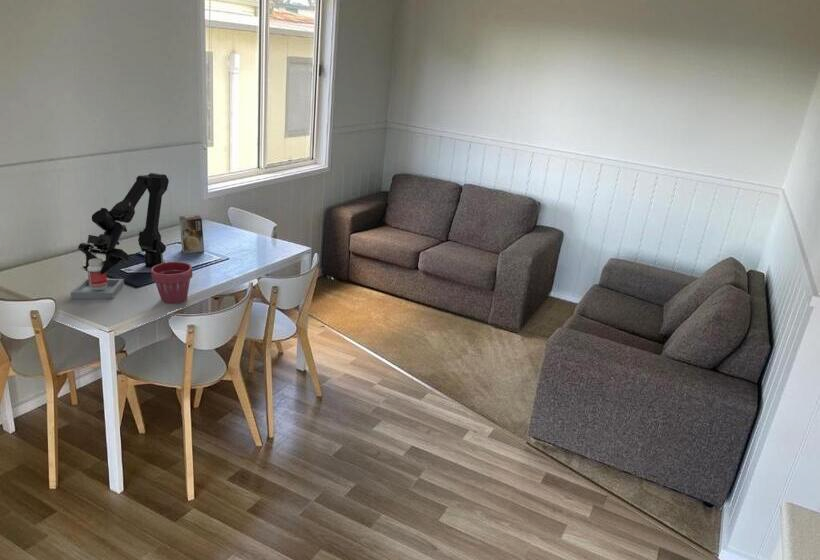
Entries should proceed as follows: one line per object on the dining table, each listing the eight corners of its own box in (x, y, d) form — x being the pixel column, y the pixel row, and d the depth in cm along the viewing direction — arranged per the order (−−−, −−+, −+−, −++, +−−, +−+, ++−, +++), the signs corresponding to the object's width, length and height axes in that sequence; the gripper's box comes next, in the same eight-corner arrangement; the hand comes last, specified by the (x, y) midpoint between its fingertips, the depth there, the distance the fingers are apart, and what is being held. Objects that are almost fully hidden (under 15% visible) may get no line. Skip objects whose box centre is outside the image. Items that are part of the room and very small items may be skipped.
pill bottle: (111, 287, 237) (108, 260, 233) (96, 291, 232) (92, 264, 228) (100, 283, 240) (97, 256, 235) (86, 287, 235) (82, 260, 230)
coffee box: (201, 247, 291) (199, 214, 286) (204, 252, 286) (202, 218, 280) (181, 249, 287) (179, 216, 282) (183, 253, 282) (181, 219, 276)
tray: (124, 284, 244) (123, 279, 243) (112, 299, 230) (112, 292, 229) (85, 284, 242) (84, 278, 241) (71, 298, 228) (70, 292, 227)
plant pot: (145, 302, 229) (142, 270, 225) (170, 290, 242) (168, 259, 237) (177, 309, 225) (175, 276, 221) (201, 296, 238) (199, 265, 233)
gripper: (77, 222, 233) (59, 259, 227) (120, 229, 229) (102, 266, 223) (95, 236, 243) (78, 272, 237) (136, 243, 239) (119, 279, 233)
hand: (94, 272), depth 232 cm, fingers closed on pill bottle, 6 cm apart
